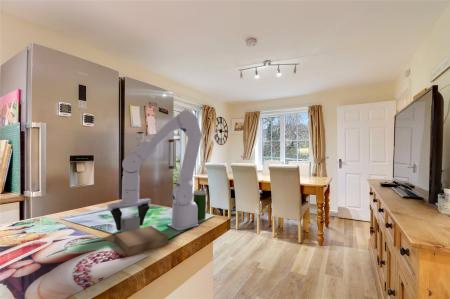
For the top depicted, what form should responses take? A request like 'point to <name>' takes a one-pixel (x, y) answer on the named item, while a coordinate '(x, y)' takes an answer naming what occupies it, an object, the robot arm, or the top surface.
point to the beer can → (200, 203)
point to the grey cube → (130, 223)
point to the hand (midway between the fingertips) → (129, 227)
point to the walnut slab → (140, 240)
